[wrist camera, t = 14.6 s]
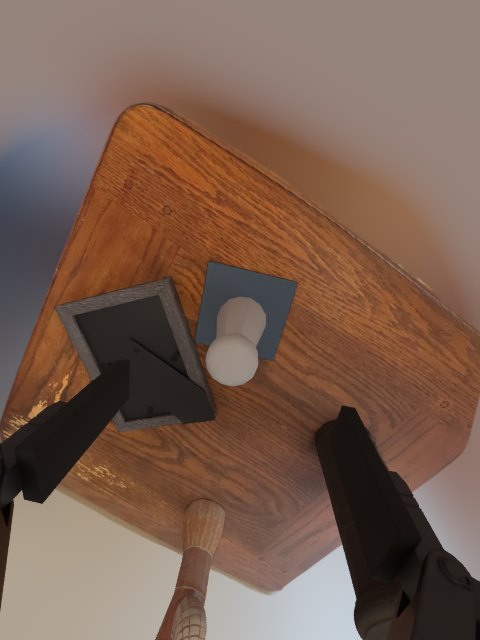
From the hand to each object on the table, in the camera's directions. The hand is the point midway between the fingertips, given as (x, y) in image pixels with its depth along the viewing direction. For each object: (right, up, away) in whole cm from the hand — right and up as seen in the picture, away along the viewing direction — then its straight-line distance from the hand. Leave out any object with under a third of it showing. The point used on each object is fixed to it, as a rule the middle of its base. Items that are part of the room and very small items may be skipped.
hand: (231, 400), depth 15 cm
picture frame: (-13, -1, +20) cm, 24 cm away
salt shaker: (+1, +6, +16) cm, 17 cm away
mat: (+1, +6, +17) cm, 18 cm away
